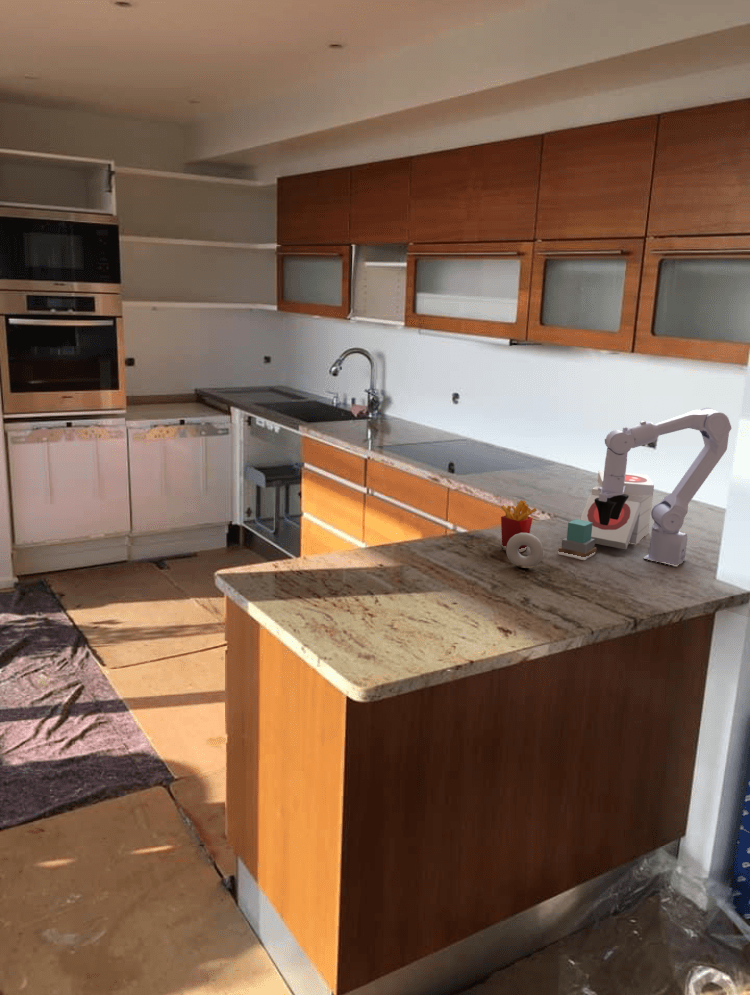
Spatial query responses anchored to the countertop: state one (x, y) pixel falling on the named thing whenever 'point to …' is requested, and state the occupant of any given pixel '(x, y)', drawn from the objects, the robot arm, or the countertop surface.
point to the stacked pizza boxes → (623, 513)
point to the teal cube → (579, 531)
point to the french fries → (516, 521)
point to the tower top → (578, 545)
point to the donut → (529, 541)
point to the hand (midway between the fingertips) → (609, 521)
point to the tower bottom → (577, 552)
